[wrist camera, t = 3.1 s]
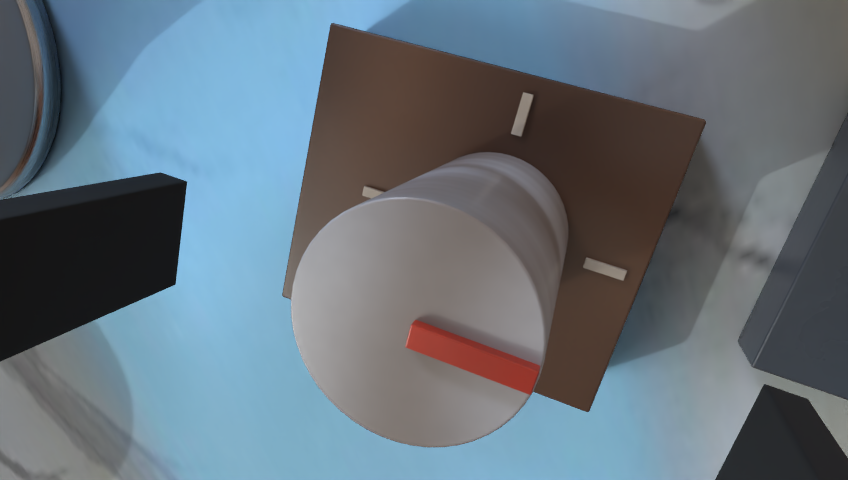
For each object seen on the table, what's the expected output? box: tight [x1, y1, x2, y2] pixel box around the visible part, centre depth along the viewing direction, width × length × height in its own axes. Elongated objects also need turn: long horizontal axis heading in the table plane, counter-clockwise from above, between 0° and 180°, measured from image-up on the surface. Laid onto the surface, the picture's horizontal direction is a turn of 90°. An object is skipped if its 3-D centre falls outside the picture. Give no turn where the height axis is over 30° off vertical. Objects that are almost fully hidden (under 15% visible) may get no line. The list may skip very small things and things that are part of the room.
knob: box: [291, 152, 568, 447], centre depth 16 cm, size 6×6×9 cm
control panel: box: [282, 23, 706, 412], centre depth 22 cm, size 13×11×3 cm
